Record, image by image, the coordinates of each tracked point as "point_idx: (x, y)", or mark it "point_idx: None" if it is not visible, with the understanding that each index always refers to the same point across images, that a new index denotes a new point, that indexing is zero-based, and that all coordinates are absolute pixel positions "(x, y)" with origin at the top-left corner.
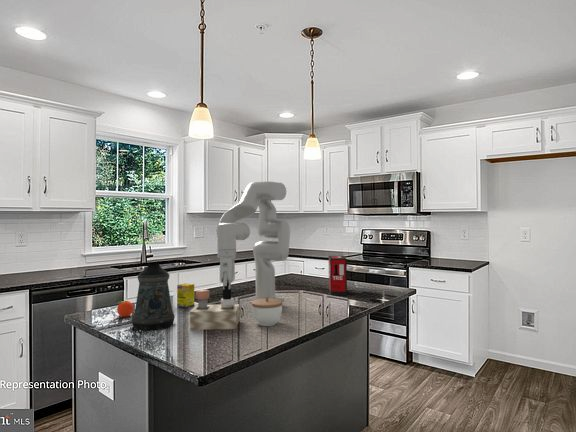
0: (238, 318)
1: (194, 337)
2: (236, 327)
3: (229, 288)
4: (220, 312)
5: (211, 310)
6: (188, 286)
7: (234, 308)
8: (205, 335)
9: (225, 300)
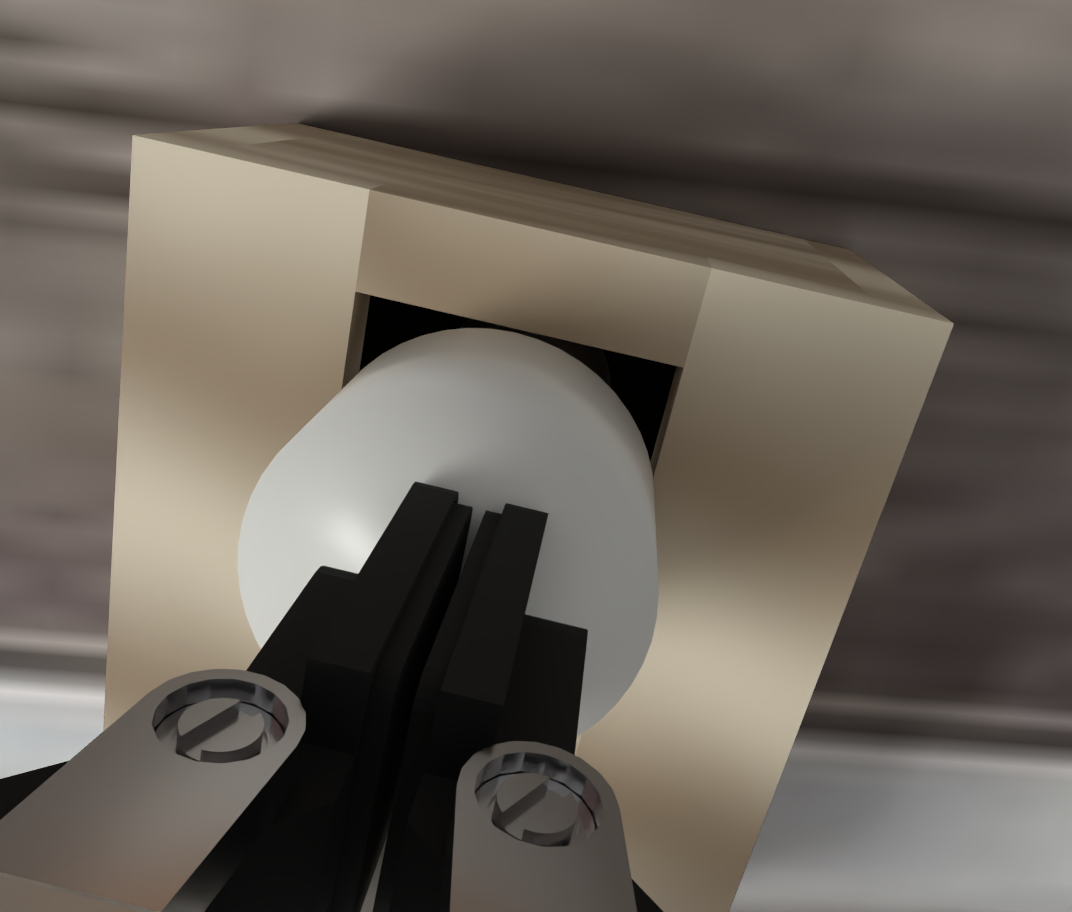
0: (388, 152)
1: (1044, 861)
2: (758, 229)
3: (610, 826)
4: (816, 657)
5: (663, 825)
6: None
7: (625, 320)
8: (1013, 731)
9: (636, 665)
